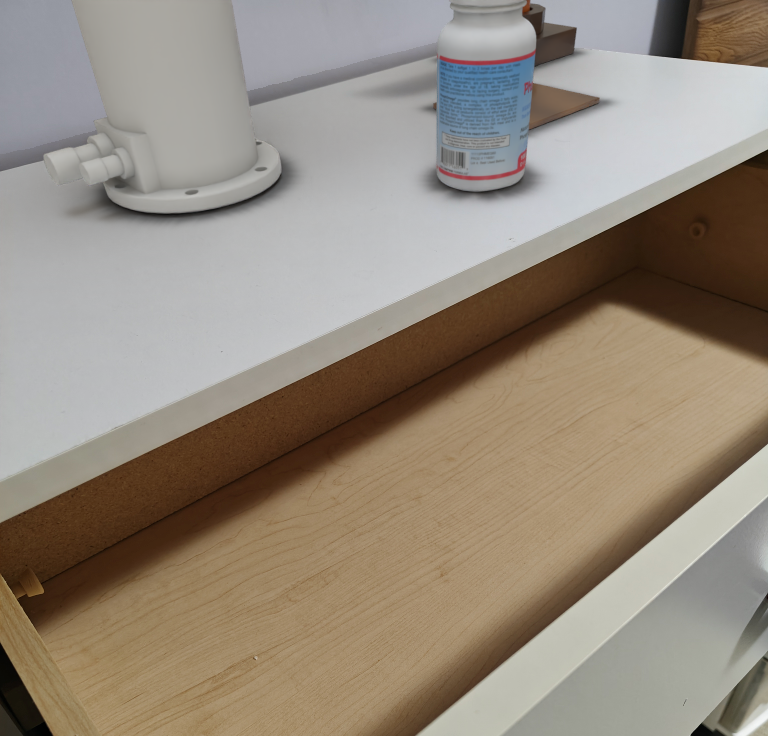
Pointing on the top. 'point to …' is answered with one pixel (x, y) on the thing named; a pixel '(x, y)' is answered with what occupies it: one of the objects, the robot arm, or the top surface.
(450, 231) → the top surface
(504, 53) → the pill bottle
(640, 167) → the top surface
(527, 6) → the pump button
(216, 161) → the robot arm
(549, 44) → the button housing
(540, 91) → the coaster
